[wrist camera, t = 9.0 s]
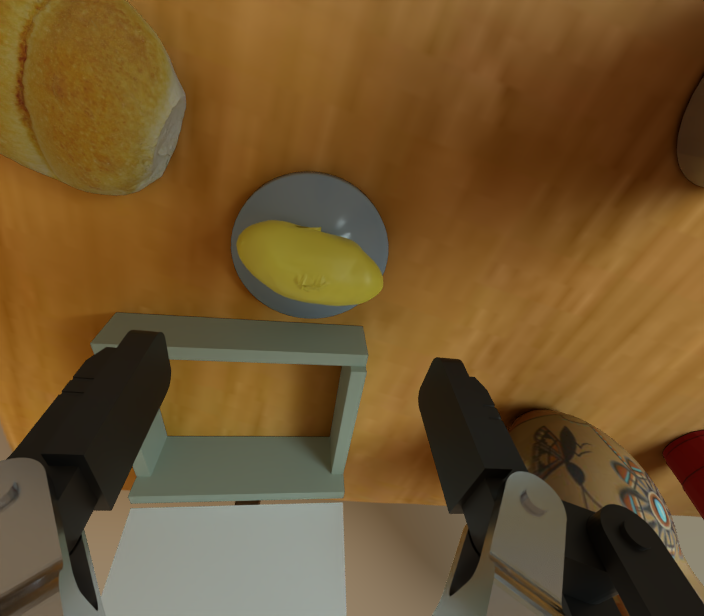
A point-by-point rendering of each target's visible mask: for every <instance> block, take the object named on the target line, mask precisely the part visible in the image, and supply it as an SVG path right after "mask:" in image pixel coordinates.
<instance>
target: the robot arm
mask: <svg viewBox="0 0 704 616" xmlns="http://www.w3.org/2000/svg"><path fill="white" fill-rule="evenodd" d="M677 156H678V161H679V167H680V168H681V170H682V172H683V174H684V175H685V177H686V178H687V179H688V180H690V181H691V182H692V183H694V184H695V185H698V186H701V187H704V77H703V78H702V80H701V82H700V83H699V85H698V87H697V88H696V90H695V92H694V93H693V95H692V98H691V100H690V102H689V104H688V107H687V109H686V111H685V113H684V115H683V119H682V123H681V126H680V130H679V134H678V143H677ZM170 380H171V367H170V361H169V356H168V350H167V345H166V339H165V335H164V333H162V332H155V331H144V330H130V331H129V332H128V333H127V334H126V335H125V337H124V338H123V340H122V341H121V342H120V344H119V345H118V346H117V348H115V347H105V348H104V349H102V350H101V351H99V352H98V353H96V354H95V355H93V356H92V357H90V358H89V359H87V360H86V361H85V362H84V364H83V365H82V366H81V367H80V369H79V370H78V371H77V373H76V374H75V375H74V376H73V380H70V381H69V383H68V384H67V385H66V386H65V388H64V389H63V390H62V394H61V395H58V396H57V398H56V399H55V400H54V402H53V403H52V404H51V405H50V407H49V408H48V409H47V410H46V412H45V413H44V414H43V415H42V417H41V418H40V419H39V420H38V422H37V423H36V424H35V425H34V427H33V428H32V429H31V431H30V432H29V433H28V434H27V436H26V437H25V438H24V439H23V441H22V442H21V443H20V444H19V446H18V447H17V448H16V449H15V451H14V452H13V453H12V454H11V455H10V456H9V457H8V458H7V459H6V460H3V461H0V616H106V615H105V611H104V608H103V604H102V600H101V596H100V592H99V588H98V584H97V580H96V576H95V572H94V567H93V563H92V560H91V556H90V551H89V547H88V543H87V539H86V535H85V531H84V527H85V526H86V523H87V522H88V520H89V518H90V516H91V514H92V512H93V510H109V511H110V510H112V508H113V506H114V504H115V502H116V500H117V498H118V495H119V493H120V491H121V489H122V487H123V485H124V483H125V481H126V478H127V476H128V474H129V472H130V470H131V468H132V466H133V464H134V461H135V459H136V457H137V455H138V453H139V451H140V449H141V447H142V444H143V442H144V440H145V438H146V436H147V434H148V432H149V429H150V427H151V425H152V423H153V421H154V419H155V417H156V415H157V412H158V410H159V408H160V406H161V404H162V402H163V400H164V398H165V395H166V393H167V391H168V388H169V385H170ZM418 403H419V409H420V412H421V416H422V419H423V423H424V426H425V430H426V434H427V437H428V441H429V444H430V448H431V451H432V455H433V458H434V462H435V465H436V469H437V472H438V476H439V479H440V483H441V486H442V490H443V493H444V497H445V500H446V504H447V507H448V511H449V513H450V514H464V515H465V519H466V522H467V524H466V525H465V527H464V529H463V532H462V535H461V538H460V542H459V545H458V548H457V551H456V554H455V558H454V560H453V564H452V567H451V570H450V573H449V576H448V579H447V582H446V586H445V589H444V592H443V595H442V597H441V600H440V602H439V604H438V606H437V608H436V609H435V611H434V613H433V615H432V616H622V615H621V613H620V611H619V609H618V607H617V605H616V603H615V601H614V599H613V597H614V596H616V595H618V594H619V596H620V598H621V600H622V602H623V604H624V606H625V608H626V609H627V611H628V613H629V615H630V616H704V603H703V602H702V600H701V599H700V597H699V596H698V594H697V593H696V591H695V590H694V588H693V587H692V585H691V584H690V582H689V581H688V579H687V578H686V576H685V575H684V573H683V572H682V570H681V569H680V567H679V566H678V564H677V563H676V561H675V560H674V558H673V557H672V555H671V554H670V552H669V551H668V549H667V548H666V546H665V545H664V543H663V542H662V540H661V539H660V537H659V536H658V535H657V533H656V532H655V531H654V530H653V529H652V527H651V526H650V525H649V524H648V523H647V522H646V521H645V520H643V519H642V518H641V517H640V516H638V515H637V514H636V513H634V512H633V511H631V510H629V509H627V508H625V507H623V506H620V505H616V504H608V505H605V506H604V507H603V508H601V509H600V510H599V511H597V512H593V511H591V510H588V509H585V508H582V507H580V506H577V505H574V504H571V503H569V502H566V501H563V500H561V499H560V498H559V496H558V495H557V493H556V492H555V491H554V490H553V489H552V488H551V487H550V486H549V485H548V484H547V483H546V482H545V481H544V480H542V479H541V478H539V477H537V476H536V475H533V474H531V473H529V471H528V470H527V468H526V466H525V464H524V462H523V460H522V458H521V456H520V454H519V452H518V450H517V448H516V446H515V444H514V442H513V440H512V438H511V436H510V434H509V432H508V431H507V429H506V427H505V425H504V423H503V421H501V417H500V415H499V413H498V411H497V409H496V408H495V407H494V406H495V405H494V403H493V401H492V399H491V397H490V395H489V393H488V391H487V390H486V389H485V388H484V386H483V385H482V384H481V383H480V382H479V381H478V380H477V379H476V378H475V377H469V375H468V373H467V371H466V369H465V367H464V364H463V363H462V361H461V360H459V359H450V358H438V357H436V358H435V359H434V360H433V361H432V363H431V366H430V368H429V370H428V372H427V374H426V376H425V379H424V381H423V383H422V385H421V387H420V390H419V396H418Z"/></svg>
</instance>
